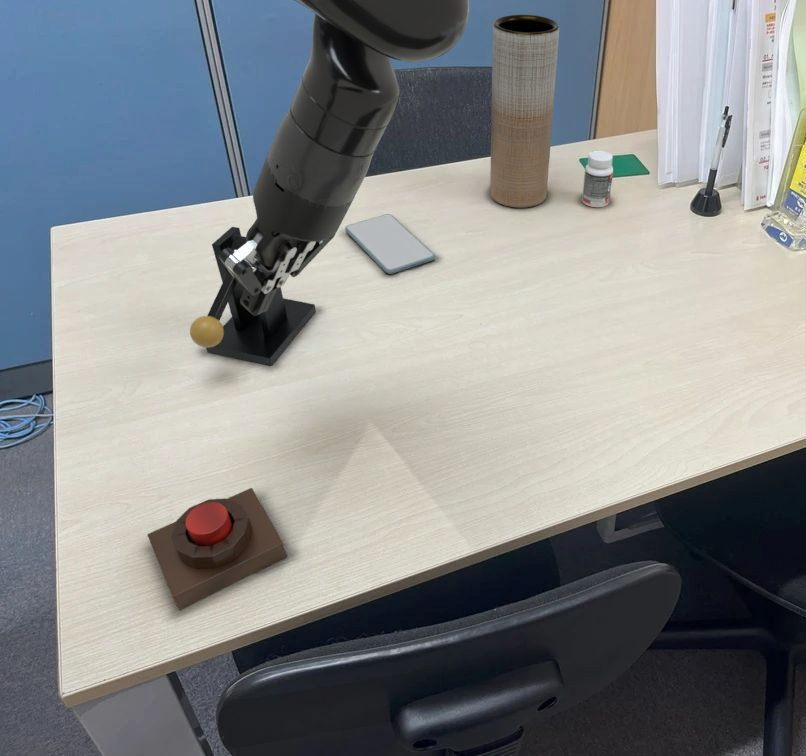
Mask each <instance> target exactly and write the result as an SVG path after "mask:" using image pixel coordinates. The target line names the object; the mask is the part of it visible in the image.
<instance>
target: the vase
mask: <svg viewBox="0 0 806 756" xmlns="http://www.w3.org/2000/svg"><path fill="white" fill-rule="evenodd" d="M559 36H560V25H559V23H558V22H557V21H556V20H554V19H552V18H549V17H546V16H541V15H536V14H535V15H533V14H511V15H505V16H501V17H498V18H497V19H495V20H494V21H493V24H492V57H491V58H492V59H491V62H492V63H491V64H492V65H491V111H490V113H491V117H490V119H491V121H490V122H491V123H490V177H489V178H490V179H489V189H490V192H489V193H490V198H492V200H493V201H494V202H496V203H498V204H499V205H502V206H504V207H509V208H514V209H515V208H516V209H526V208H532V207H536V206H538V205H540V204H542V203H543V202H544V201H545V200H546V198H547V194H548V184H549V183H548V182H549V169H550V159H551V157H550V156H551V143H552V131H553V129H552V128H553V119H554V106H555V105H554V104H555V92H556V77H557V67H558V65H557V64H558V53H559V39H560V38H559Z"/></svg>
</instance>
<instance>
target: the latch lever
mask: <svg viewBox="0 0 806 756" xmlns="http://www.w3.org/2000/svg"><path fill="white" fill-rule="evenodd" d="M246 242H247V240H246V236H242V235H241V236H238V235H236V237H235V239H234V241H233V243H232V245H231V248H230V249H231V250H232V251H234V250H235V249H237V250H238V249H239V248H240V247H242V246H243V245H244V244H245V243H246ZM236 283H237V280H236V279H235V278H234V277H233V276H232V275H231V273H230V272H229V271H228V272H227V275H226V277H225V279H224V281H223V283H221V285H220V288H219V290H218V291H217V294H216V295H215V298H214V300H213V301H212V302H213V303H212V304H211V307H210V308H209V311H208V313H207V315H202V316H200V317H197V318H196V319H195V320H194V321H193V322H192V323H191V325H190V327H189V335H190V338H191V341H193V343H195V344H196V345H197V346H199V347H202V348H209V347H213V346H216V345H217V344H219V343H220V342H221V340H222V339H223V336H224V328H223V326H224V325H223V324H222V323H221V321H220V320H221V318H222V316H223V314H224V311H225V310H226V307H227V305H228V301H229V299H230V297H231V294H232V292H233V290H234V288H235V286H236Z"/></svg>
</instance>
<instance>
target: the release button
mask: <svg viewBox="0 0 806 756" xmlns="http://www.w3.org/2000/svg"><path fill="white" fill-rule="evenodd" d="M185 524H186V528H187V530H188V532H189V535H190V537H191V539H192V540H193V541H194V542H195V543H196V544H199V545H203V546H208V545H213V544H216V543H218V542H220V541H222V540H223V539H224V538H225V537H226V536H227V535H228V534H229V532H230V530H231V526H232V523H231V520H230V517H229V515H228V512H227V509H226V508H225V507H224V506H223V505H221V504H219V503H215V502H209V503H204V504H201V505H199V506H197V507H196V508H194V509H193V510H192V511H191V512H190V513H189V514H188V516H187V518H186V523H185Z"/></svg>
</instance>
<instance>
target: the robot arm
mask: <svg viewBox="0 0 806 756" xmlns="http://www.w3.org/2000/svg"><path fill="white" fill-rule="evenodd" d="M293 1H295V2H296V3H298V4H299V5H301V6H302V7H305V8H307V10H310V11H311V12H312V13H313V14H314V17H313V23H312V32H311V47H310V55H309V59H308V62H307V65H306V67H305V69H304V70H303V72H302V75H301V78H300V81H299V83H298V85H297V87H296V91H295V94H294V96H293V98H292V101H291V104H290V106H289V108H288V110H287V111H286V113H285V115H284V116H283V118H282V120H281V121H280V124H279V126H278V127H277V130H276V131H275V134H274V136H273V140H272V143H271V145H270V147H269V150H268V152H267V155H266V156H265V157H266V158H265V160H264V162H263V165H262V168H261V171H260V173H259V175H258V178H257V180H256V183H255V185H254V188H253V192H252V200H253V201H252V202H253V205H254V209H255V213H256V218H255V221H254V222H253V224H252V225H251V226H250V228H248V230H247V231H246V235H245V237H246V240H247V242H246V243H245V244H244V245H243V246H242V247H240V248H239V249H238V250H237V249H235V250H234V251H232V250H231V249H230V248H225V249H224V250H222V251H221V253H220V254H219V259H220V260H221V261H222V263H223V264H224V265H225V267H226V268H227V269H228V271H229V272H230V273H231V275H232V276H233V277H234V278H235V279H236V280H237V281H239V282H240V283H241V284H242V285H243V286H244V287H245V290H244V292H243V295H242V297H241V299H240V303H241V304H242V305H243V306H244V307H245V308H246V309H247V310H248V311H249V312H250V313H251V314H252V315H253V316H256V315H258V314H260V313H263V312H265V311H267V310H268V308H269V305H270V303H271V301H272V299H273V297H274V295H275V293H276V291H277V289H278V288H279V287H281V288H282V287H283V286H284V285H285V284H286V282H287V280H288V279H289V277H290V276H291V277H292V278H295V277H298V275H299V276H300V274H301V273H302V271H303V270H304V269H305V268H306V267H307V266H308V265H309V264H311V262H312V261H313V260H314V259H315V258H316V257H317V256H318V254H319V253H321V252H322V250H323V249H324V248H325V247H326V246H327V245H328V244H329V243H330V242H331V241H332V240H333V239H334V238H335V236H336V234H337V232H338V230H339V229H340V227H341V225H342V223H343V220H344V219H345V217H346V215H347V213H348V211H349V209H350V208H351V205H352V203H353V201H354V199H355V197H356V195H357V193H358V191H359V190H360V187H361V186H362V184H363V182H364V180H365V178H366V175H367V173H368V171H369V169H370V165H371V162H372V159H373V156H374V154H375V152H376V149H377V147H378V146H379V143H380V141H381V140H382V137H383V135H384V133H385V131H386V130H387V127H388V125H389V123H390V121H391V119H392V118H393V116H394V114H395V111H396V109H397V107H398V104H399V101H400V91H401V90H400V88H401V87H400V83H399V80H398V78H397V75H396V71H395V69H394V66H393V64H392V59H393V60H396V61H401V62H405V63H422V62H428V61H432V60H435V59H437V58H439V57H442V56H443V55H445V54H447V53H448V52H449V51H450V50H451V49H453V48H454V47H455V45H457V43H458V42H459V41H460V39H462V36H463V34H464V33H465V31H466V28H467V25H468V21H469V15H470V0H293Z"/></svg>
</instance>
